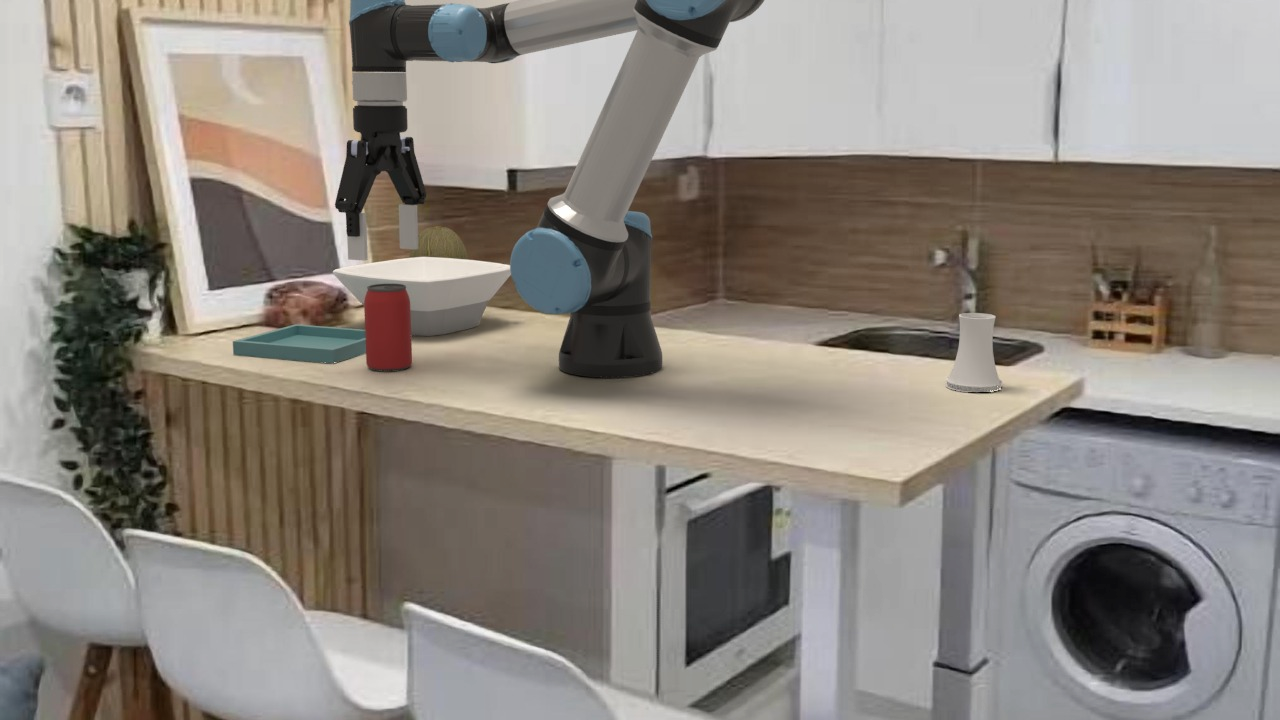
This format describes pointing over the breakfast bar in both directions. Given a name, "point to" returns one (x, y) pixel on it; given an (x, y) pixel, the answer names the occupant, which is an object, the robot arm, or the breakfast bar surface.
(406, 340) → the beer can
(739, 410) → the breakfast bar surface
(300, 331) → the tray
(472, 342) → the breakfast bar surface
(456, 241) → the fruit
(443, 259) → the bowl
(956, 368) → the cooling tower model
